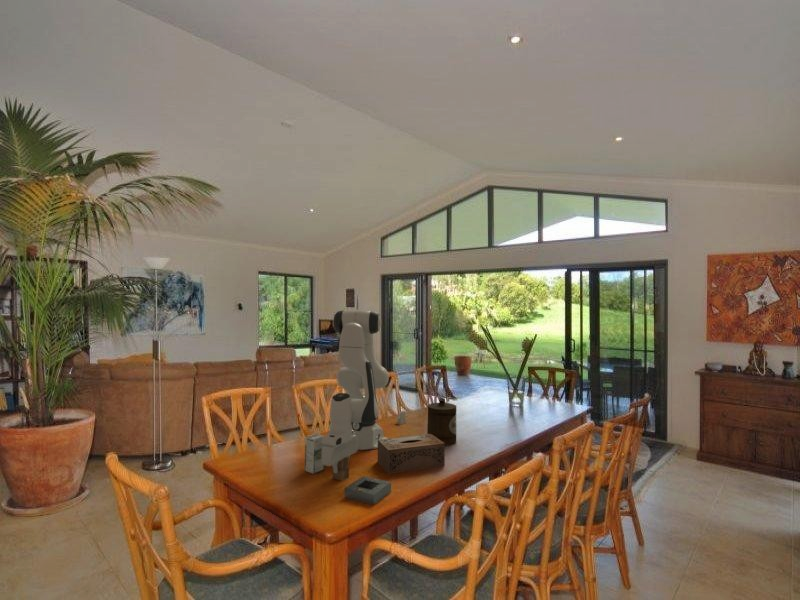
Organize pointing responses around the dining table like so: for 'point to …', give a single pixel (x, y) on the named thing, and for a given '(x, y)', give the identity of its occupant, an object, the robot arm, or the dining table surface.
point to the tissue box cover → (411, 453)
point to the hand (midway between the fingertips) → (340, 469)
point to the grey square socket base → (368, 490)
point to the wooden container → (442, 421)
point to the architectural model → (401, 418)
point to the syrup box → (313, 453)
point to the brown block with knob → (342, 469)
